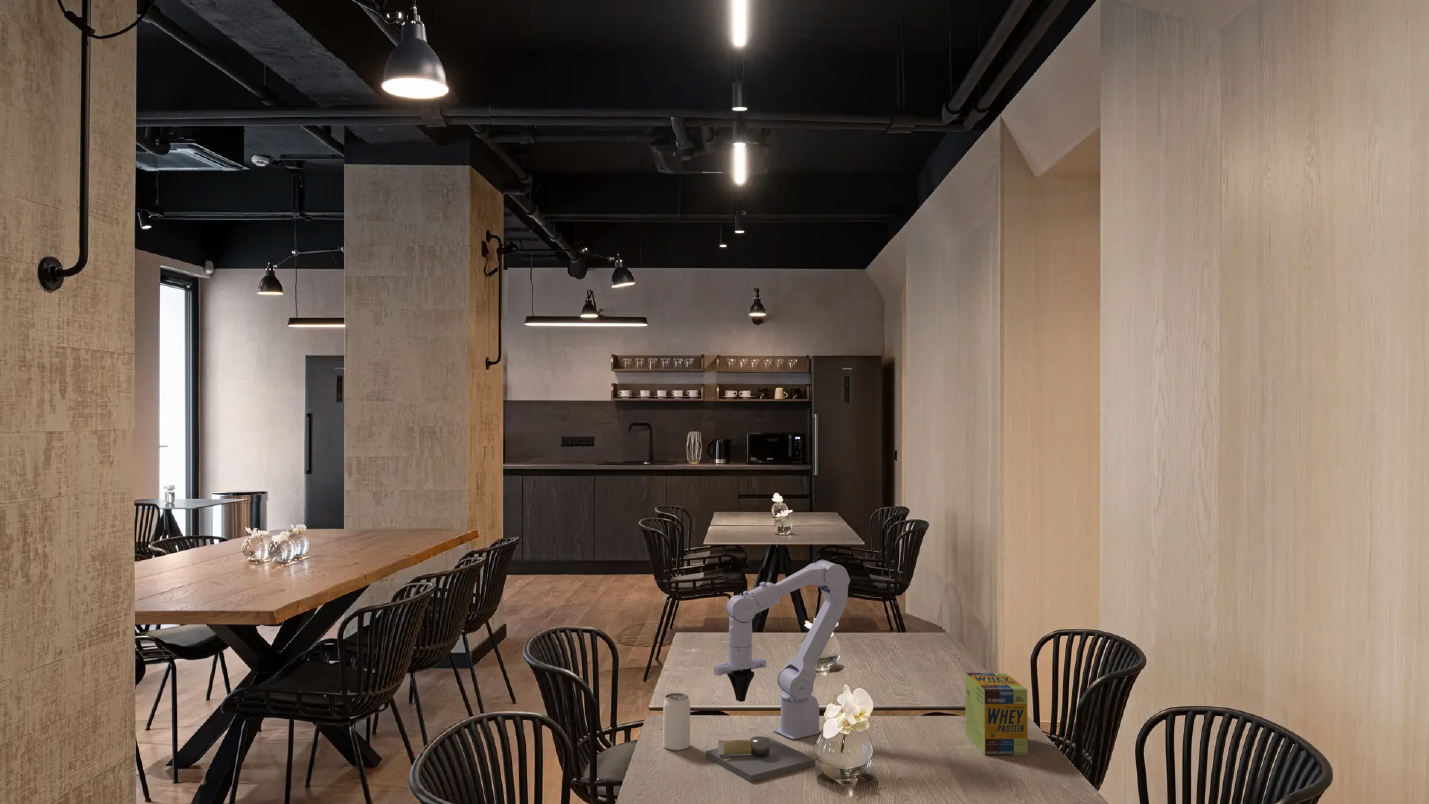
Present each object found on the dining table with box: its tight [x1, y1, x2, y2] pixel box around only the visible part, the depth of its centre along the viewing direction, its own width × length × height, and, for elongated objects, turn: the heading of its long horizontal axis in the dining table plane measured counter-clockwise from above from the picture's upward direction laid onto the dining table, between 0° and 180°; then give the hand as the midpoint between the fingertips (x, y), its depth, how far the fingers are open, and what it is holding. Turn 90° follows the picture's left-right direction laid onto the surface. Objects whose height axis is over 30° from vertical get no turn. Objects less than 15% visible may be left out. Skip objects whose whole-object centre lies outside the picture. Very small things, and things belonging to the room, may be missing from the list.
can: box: [662, 692, 691, 752], centre depth 219 cm, size 6×6×12 cm
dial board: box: [705, 736, 816, 783], centre depth 209 cm, size 18×18×2 cm
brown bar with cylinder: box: [717, 735, 770, 756], centre depth 209 cm, size 4×12×3 cm, turn 94°
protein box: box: [965, 672, 1029, 756], centre depth 221 cm, size 10×15×16 cm
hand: (740, 700), depth 224 cm, fingers closed
